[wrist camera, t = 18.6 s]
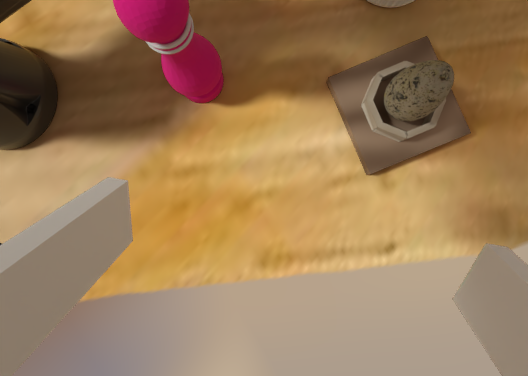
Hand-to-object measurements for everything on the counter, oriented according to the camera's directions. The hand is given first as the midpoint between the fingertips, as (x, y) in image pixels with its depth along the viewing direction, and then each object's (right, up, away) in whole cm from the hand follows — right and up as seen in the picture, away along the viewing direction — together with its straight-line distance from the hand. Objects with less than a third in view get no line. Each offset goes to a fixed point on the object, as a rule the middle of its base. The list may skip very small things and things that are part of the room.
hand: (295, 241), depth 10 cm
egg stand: (+17, +13, +28) cm, 35 cm away
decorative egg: (+16, +13, +26) cm, 34 cm away
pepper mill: (-10, +17, +29) cm, 35 cm away
